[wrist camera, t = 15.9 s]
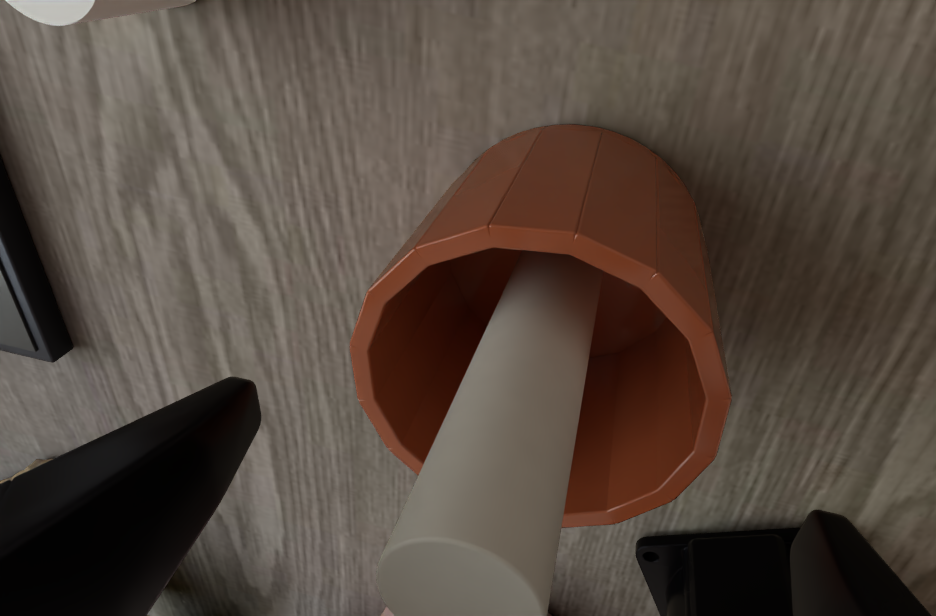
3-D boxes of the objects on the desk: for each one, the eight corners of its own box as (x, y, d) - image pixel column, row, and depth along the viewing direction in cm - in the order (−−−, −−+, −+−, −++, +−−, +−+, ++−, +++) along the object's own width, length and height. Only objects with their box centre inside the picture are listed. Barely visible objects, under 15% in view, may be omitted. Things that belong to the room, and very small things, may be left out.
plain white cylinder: (615, 276, 15) (569, 660, 7) (541, 294, 16) (417, 658, 8) (591, 204, 14) (507, 533, 6) (515, 226, 15) (345, 546, 7)
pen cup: (730, 332, 16) (764, 514, 11) (496, 376, 19) (439, 537, 14) (663, 79, 13) (668, 169, 8) (401, 175, 16) (287, 286, 11)
